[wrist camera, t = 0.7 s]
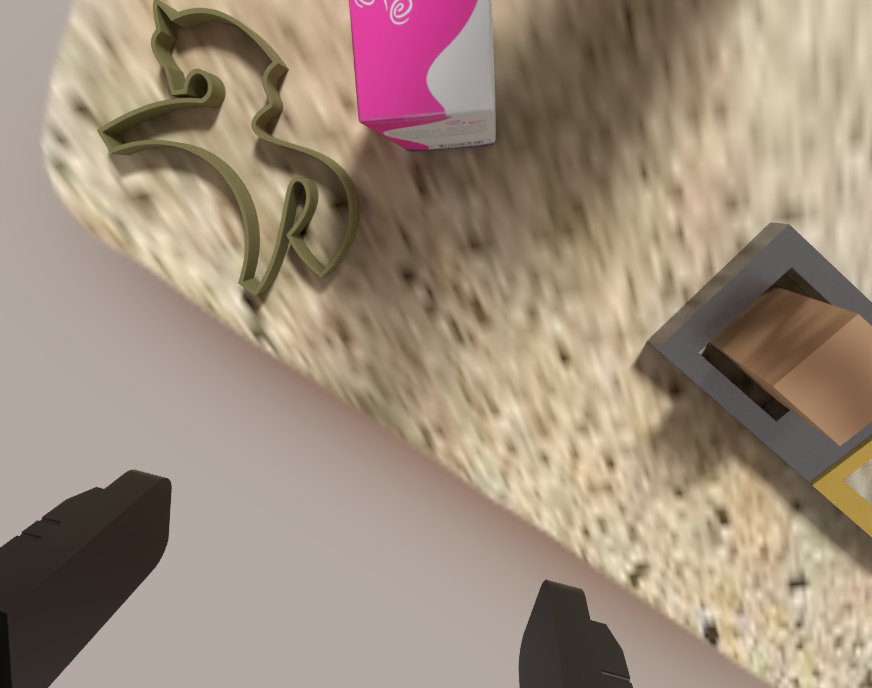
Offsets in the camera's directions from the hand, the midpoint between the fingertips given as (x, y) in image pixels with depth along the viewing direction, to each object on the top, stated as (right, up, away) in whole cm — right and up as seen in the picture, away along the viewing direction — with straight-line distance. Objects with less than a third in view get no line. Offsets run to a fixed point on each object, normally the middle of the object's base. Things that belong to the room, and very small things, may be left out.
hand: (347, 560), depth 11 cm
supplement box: (+2, +20, +20) cm, 28 cm away
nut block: (+23, +5, +22) cm, 33 cm away
